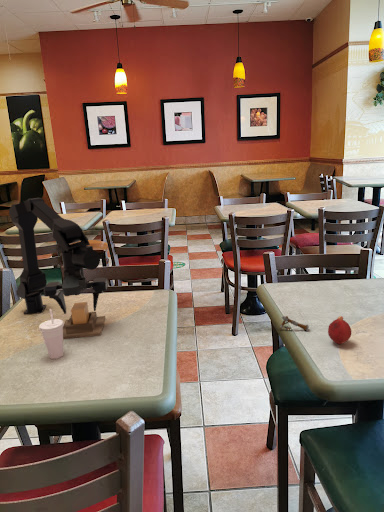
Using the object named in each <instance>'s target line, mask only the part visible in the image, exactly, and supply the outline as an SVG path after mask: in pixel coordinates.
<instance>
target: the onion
mask: <svg viewBox="0 0 384 512" xmlns="http://www.w3.org/2000/svg"><path fill="white" fill-rule="evenodd" d="M327 333H328V337H329V339H331V340H332V342H334V343H336V344H337V345H342V344H344V343H346V342H347V341H349V339H350V338H351V337H352V328H351V326H350V324H349V323H348V322H347V321H346V320H344V317H343V316H341V315H340V316H338V317H337V318H336V319H333V321H331V322H330V323H329V325H328V328H327Z"/></svg>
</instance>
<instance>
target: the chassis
mask: <svg viewBox="0 0 384 512" xmlns="http://www.w3.org/2000/svg"><path fill="white" fill-rule="evenodd" d="M89 318H90V320H89V323H84V324H74V325H73V320H72V314H70V317H69V318H68V319H65V321H64V322H63V324H64V326H63V340H70V339H77V338H78V339H79V338H86V337H87V338H88V337H97V336H101V335H102V332H103V328H104V325H105V320H106V315H102V316H101V315H100V316H98V315H97V311H89Z"/></svg>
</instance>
